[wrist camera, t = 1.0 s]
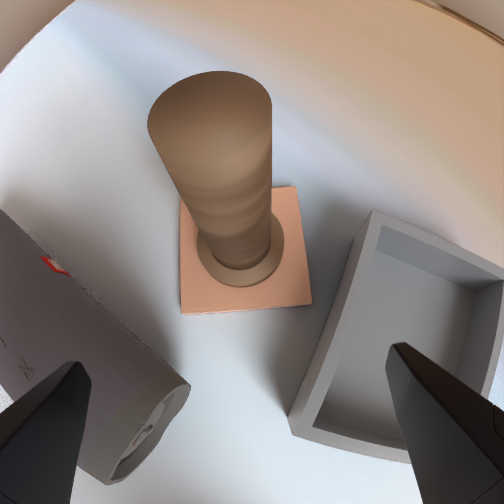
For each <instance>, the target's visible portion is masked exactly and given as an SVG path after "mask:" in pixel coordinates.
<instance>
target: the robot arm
mask: <svg viewBox="0 0 504 504" xmlns="http://www.w3.org/2000/svg"><path fill="white" fill-rule="evenodd" d="M385 371H386V375H387V379H388V384H389V388H390V392H391V396H392V401H393V405H394V410H395V414H396V417H397V421H398V424H399V427H400V430H401V433H402V436H403V439H404V442H405V445H406V448H407V451H408V454H409V457H410V460H411V464H412V467H413V470H414V473H415V477H416V480H417V484H418V487H419V491H420V494H421V498H422V501H423V504H504V411H503V410H501V409H500V408H499V407H497V406H496V405H493V403H491V402H490V401H489V400H487V399H486V398H484V397H483V396H482V395H480V394H479V393H477V392H476V391H475V390H473V389H472V388H470V387H469V386H468V385H466V384H465V383H463V382H462V381H461V380H459V379H458V378H456V377H455V376H453V375H452V374H451V373H449V372H448V371H446V370H445V369H444V368H442V367H441V366H439V365H438V364H436V363H435V362H434V361H432V360H431V359H429V358H428V357H426V356H425V355H424V354H422V353H421V352H419V351H418V350H416V349H415V348H414V347H412V346H411V345H409V344H408V343H406V342H399V343H393V344H392V345H391V346H390V348H389V352H388V356H387V360H386V364H385ZM91 388H92V381H91V378H90V376H89V375H88V373H87V371H86V369H85V368H84V366H83V364H82V363H81V362H80V361H75V360H68V361H67V362H65V363H64V364H63V365H61V366H60V367H59V368H58V369H56V370H55V371H54V372H52V373H51V374H50V375H48V376H47V377H46V378H45V379H43V380H42V381H41V382H39V383H38V384H37V385H36V386H34V387H33V388H32V389H30V390H29V391H28V392H27V393H25V394H24V395H23V396H22V397H20V398H19V399H18V400H16V401H15V402H14V403H13V404H11V405H10V406H9V407H8V408H6V409H5V410H4V411H3V412H1V413H0V504H70V499H71V493H72V487H73V481H74V476H75V471H76V466H77V461H78V457H79V452H80V448H81V443H82V439H83V435H84V431H85V426H86V420H87V413H88V406H89V400H90V394H91Z"/></svg>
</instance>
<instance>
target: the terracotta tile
mask: <svg viewBox="0 0 504 504" xmlns="http://www.w3.org/2000/svg"><path fill="white" fill-rule="evenodd" d="M271 212H272V213H273V214H274V215H275V216H276V218H277V219H278V220H279V222H280V224H281V226H282V229H283V233H284V251H283V256H282V259H281V262H280V264H279V266H278V268H277V269H276V271H275V272H274V273H273V274H272V275H271V276H270V277H269V278H268V279H266V280H265V281H263V282H261V283H259V284H257V285H254V286H250V287H243V288H239V287H231V286H228V285H225V284H222V283H220V282H219V281H217V280H216V279H214V278H213V277H212V276H211V275H210V274H209V273H208V271H207V270H206V269H205V267H204V266H203V264H202V263H201V261H200V259H199V256H198V252H197V235H198V231H199V229H198V228H197V226H196V224H195V222H194V220H193V218H192V216H191V214H190V213H189V211H188V209H187V207H186V205H185V203H184V201H183V199H182V198H181V206H180V284H181V314H183V315H192V314H208V313H223V312H236V311H249V310H260V309H271V308H282V307H292V306H302V305H311V304H312V296H311V288H310V280H309V272H308V264H307V257H306V250H305V243H304V236H303V229H302V222H301V216H300V209H299V203H298V197H297V190H296V186H292V187H279V188H272V210H271Z"/></svg>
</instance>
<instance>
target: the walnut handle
mask: <svg viewBox="0 0 504 504" xmlns="http://www.w3.org/2000/svg"><path fill="white" fill-rule="evenodd" d="M147 127H148V132H149V135H150V137H151V139H152V141H153V143H154V145H155V147H156V149H157V151H158V153H159V155H160V157H161V159H162V161H163V163H164V165H165V167H166V169H167V171H168V173H169V175H170V177H171V178H172V180H173V182H174V184H175V186H176V188H177V190H178V192H179V194H180V196H181V198H182V199H183V201H184V203H185V205H186V207H187V209H188V211H189V213H190V214H191V216H192V218H193V220H194V222H195V224H196V226H197V228H198V229H199V231H198V235H197V252H198V256H199V259H200V261H201V263H202V264H203V266H204V267H205V269H206V270H207V271H208V273H209V274H210V275H211V276H212V277H213V278H214V279H216V280H217V281H219V282H220V283H222V284H225V285H228V286H231V287H239V288H243V287H250V286H254V285H257V284H259V283H261V282H263V281H265V280H266V279H268V278H269V277H270V276H271V275H272V274H273V273H274V272H275V271H276V269H277V268H278V266H279V264H280V262H281V259H282V256H283V251H284V233H283V229H282V226H281V224H280V222H279V220H278V219H277V218H276V216H275V215H274V214H273V213H272V212H271V210H272V103H271V99H270V96H269V94H268V92H267V91H266V89H265V88H264V87H263V86H262V85H261V84H260V83H259V82H257V81H256V80H254V79H253V78H251V77H248V76H246V75H243V74H240V73H236V72H229V71H211V72H204V73H200V74H196V75H193V76H190V77H187V78H185V79H183V80H181V81H179V82H177V83H175V84H174V85H172V86H171V87H169V88H168V89H167V90H166V91H164V92H163V93H162V94H161V95H160V96H159V97H158V99H157V100H156V101H155V103H154V104H153V106H152V108H151V110H150V113H149V115H148V121H147Z"/></svg>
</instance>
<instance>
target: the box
mask: <svg viewBox="0 0 504 504" xmlns="http://www.w3.org/2000/svg"><path fill="white" fill-rule="evenodd" d="M503 335H504V269H503V268H501V267H499V266H497V265H495V264H494V263H492V262H490V261H488V260H486V259H484V258H482V257H480V256H478V255H476V254H474V253H472V252H470V251H468V250H466V249H463V248H461V247H459V246H457V245H455V244H453V243H451V242H449V241H447V240H444V239H442V238H440V237H438V236H436V235H433V234H431V233H429V232H427V231H424V230H422V229H420V228H418V227H415V226H413V225H411V224H408V223H406V222H404V221H401V220H399V219H397V218H394V217H392V216H389V215H387V214H384V213H382V212H380V211H377V210H375V209H373V210H372V211H371V213H370V214H369V216H368V217H367V219H366V220H365V222H364V223H363V225H362V226H361V228H360V229H359V231H358V232H357V234H356V235H355V237H354V239H353V242H352V246H351V249H350V252H349V255H348V258H347V262H346V265H345V268H344V271H343V274H342V277H341V280H340V283H339V286H338V289H337V292H336V295H335V298H334V301H333V304H332V306H331V309H330V312H329V315H328V318H327V320H326V323H325V326H324V328H323V331H322V334H321V336H320V339H319V342H318V344H317V347H316V349H315V352H314V355H313V357H312V360H311V362H310V365H309V367H308V369H307V372H306V374H305V377H304V379H303V382H302V384H301V386H300V389H299V391H298V393H297V396H296V398H295V400H294V402H293V405H292V407H291V409H290V411H289V414H288V416H287V419H288V422H289V426H290V429H291V432H292V435H294V436H297V437H300V438H303V439H306V440H310V441H313V442H316V443H320V444H323V445H327V446H330V447H334V448H338V449H342V450H345V451H349V452H353V453H358V454H362V455H366V456H371V457H375V458H380V459H385V460H390V461H396V462H402V463H407V464H411V460H410V457H409V454H408V451H407V448H406V445H405V442H404V439H403V436H402V433H401V430H400V427H399V424H398V421H397V417H396V414H395V410H394V405H393V401H392V396H391V392H390V388H389V384H388V379H387V375H386V371H385V364H386V360H387V356H388V352H389V348H390V346H391V345H392V344H393V343H399V342H406V343H408V344H409V345H411V346H412V347H414V348H415V349H416V350H418V351H419V352H421V353H422V354H424V355H425V356H426V357H428V358H429V359H431V360H432V361H434V362H435V363H436V364H438V365H439V366H441V367H442V368H444V369H445V370H446V371H448V372H449V373H451V374H452V375H453V376H455V377H456V378H458V379H459V380H461V381H462V382H463V383H465V384H466V385H468V386H469V387H470V388H472V389H473V390H475V391H476V392H477V393H479V394H480V395H482V396H483V397H484V398H486V399H488V396H489V393H490V389H491V386H492V382H493V379H494V375H495V371H496V367H497V363H498V359H499V355H500V350H501V345H502V341H503Z"/></svg>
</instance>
